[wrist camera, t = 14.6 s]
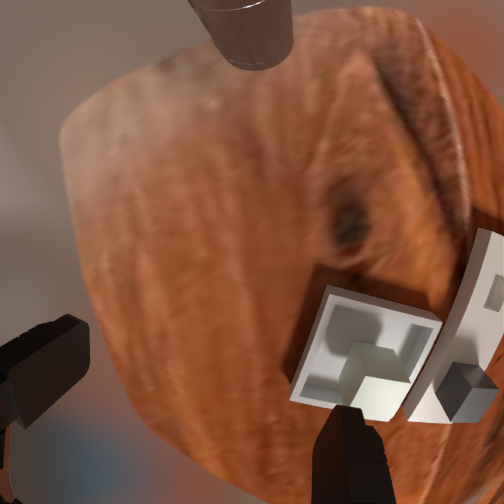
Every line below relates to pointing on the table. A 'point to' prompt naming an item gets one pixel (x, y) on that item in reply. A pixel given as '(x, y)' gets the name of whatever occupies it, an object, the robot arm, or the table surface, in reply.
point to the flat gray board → (465, 327)
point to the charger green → (373, 381)
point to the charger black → (466, 393)
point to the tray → (359, 329)
